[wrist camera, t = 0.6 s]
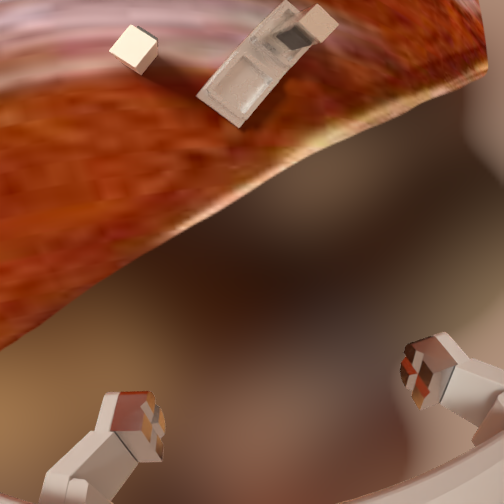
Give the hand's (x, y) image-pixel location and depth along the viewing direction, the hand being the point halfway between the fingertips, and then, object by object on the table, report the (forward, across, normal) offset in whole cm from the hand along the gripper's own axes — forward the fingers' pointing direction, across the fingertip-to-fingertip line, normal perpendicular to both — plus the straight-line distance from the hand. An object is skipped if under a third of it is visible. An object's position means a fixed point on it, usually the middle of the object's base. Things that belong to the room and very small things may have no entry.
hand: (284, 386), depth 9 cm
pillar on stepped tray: (+45, -7, -16) cm, 49 cm away
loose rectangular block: (+42, +11, -19) cm, 48 cm away
